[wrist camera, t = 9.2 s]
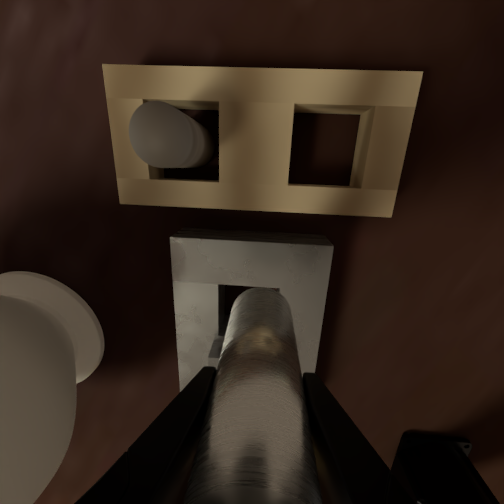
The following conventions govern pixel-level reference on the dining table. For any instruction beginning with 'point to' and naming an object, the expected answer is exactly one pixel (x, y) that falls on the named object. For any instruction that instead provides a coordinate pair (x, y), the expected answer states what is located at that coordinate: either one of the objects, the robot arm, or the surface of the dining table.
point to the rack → (255, 135)
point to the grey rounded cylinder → (256, 414)
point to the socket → (244, 274)
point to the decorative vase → (40, 377)
